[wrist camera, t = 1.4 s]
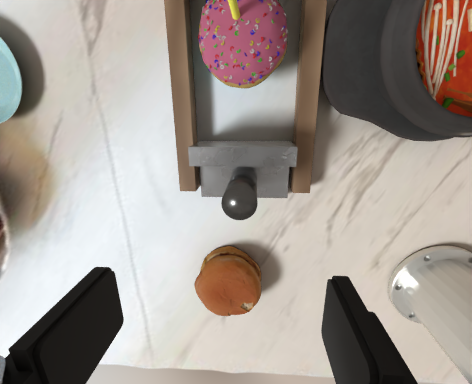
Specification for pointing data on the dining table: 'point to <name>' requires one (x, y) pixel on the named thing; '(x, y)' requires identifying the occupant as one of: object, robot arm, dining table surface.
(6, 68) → the saucer
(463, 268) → the robot arm
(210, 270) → the burger
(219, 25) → the cupcake
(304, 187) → the press bed
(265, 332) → the dining table surface
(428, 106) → the casserole
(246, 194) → the ram
